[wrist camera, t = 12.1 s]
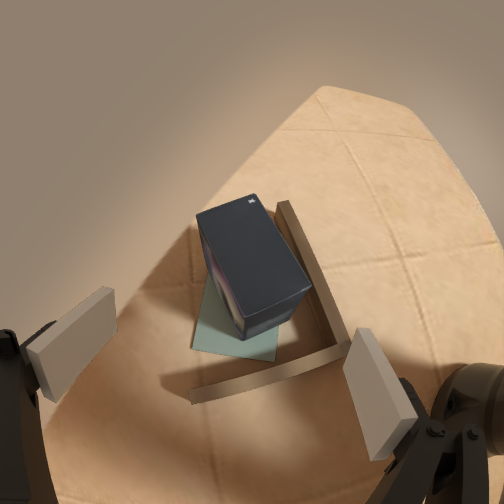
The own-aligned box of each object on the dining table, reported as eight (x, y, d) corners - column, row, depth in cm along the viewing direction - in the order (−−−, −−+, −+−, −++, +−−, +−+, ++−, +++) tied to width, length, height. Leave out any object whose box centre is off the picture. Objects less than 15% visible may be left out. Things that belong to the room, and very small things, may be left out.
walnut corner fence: (284, 216, 38) (288, 200, 35) (343, 356, 29) (354, 351, 26) (160, 245, 35) (154, 230, 32) (196, 403, 26) (191, 404, 23)
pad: (285, 257, 35) (285, 256, 35) (274, 361, 29) (274, 361, 29) (214, 247, 35) (213, 246, 35) (192, 349, 29) (192, 348, 29)
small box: (202, 264, 34) (191, 212, 25) (250, 245, 35) (256, 189, 26) (239, 344, 29) (241, 318, 20) (291, 319, 31) (316, 283, 22)
